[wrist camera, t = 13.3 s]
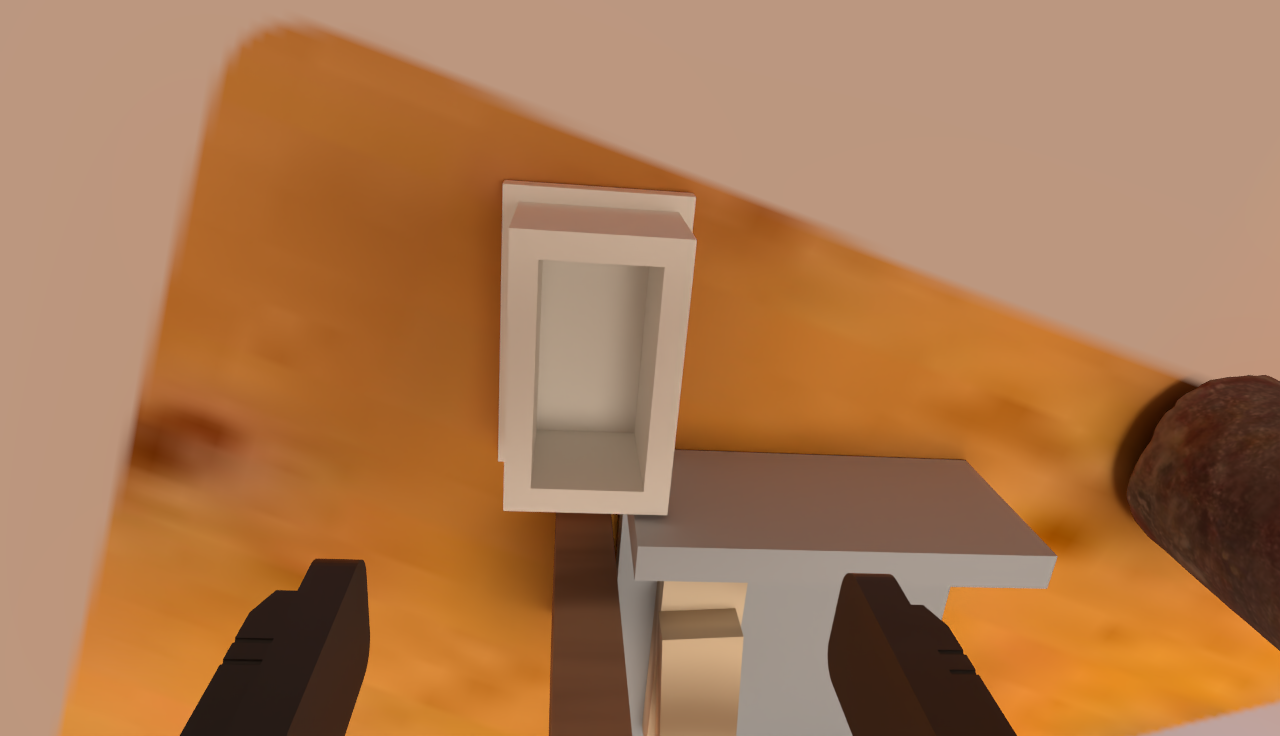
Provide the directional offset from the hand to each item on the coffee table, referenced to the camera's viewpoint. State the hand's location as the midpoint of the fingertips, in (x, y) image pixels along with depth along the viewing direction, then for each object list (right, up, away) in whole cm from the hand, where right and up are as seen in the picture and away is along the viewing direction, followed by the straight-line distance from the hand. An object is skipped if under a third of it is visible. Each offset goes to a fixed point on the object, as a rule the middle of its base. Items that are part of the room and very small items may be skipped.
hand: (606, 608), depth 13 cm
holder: (-1, +5, +14) cm, 15 cm away
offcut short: (+3, -7, +16) cm, 18 cm away
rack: (+6, -6, +19) cm, 21 cm away
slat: (-2, -3, +17) cm, 18 cm away
